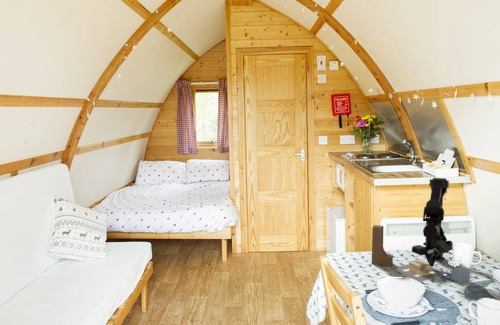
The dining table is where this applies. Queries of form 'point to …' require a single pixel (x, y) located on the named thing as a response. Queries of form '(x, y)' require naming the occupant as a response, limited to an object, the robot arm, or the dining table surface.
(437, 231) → the robot arm
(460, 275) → the blue cube
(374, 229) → the wooden block
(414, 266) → the birch block
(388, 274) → the dining table surface
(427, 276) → the letter board
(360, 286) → the dining table surface
